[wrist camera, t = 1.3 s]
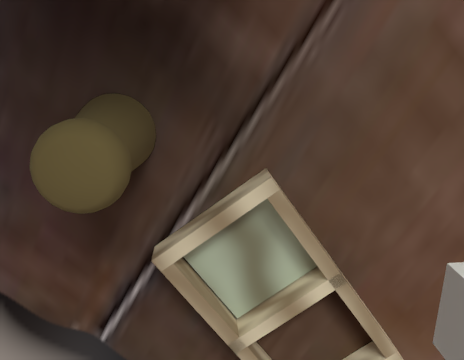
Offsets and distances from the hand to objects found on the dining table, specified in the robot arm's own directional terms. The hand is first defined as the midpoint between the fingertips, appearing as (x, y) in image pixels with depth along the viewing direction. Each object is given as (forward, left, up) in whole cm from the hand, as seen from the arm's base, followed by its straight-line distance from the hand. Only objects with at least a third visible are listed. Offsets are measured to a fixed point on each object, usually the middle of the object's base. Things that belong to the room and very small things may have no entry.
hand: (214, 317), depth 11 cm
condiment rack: (+15, -3, -22) cm, 26 cm away
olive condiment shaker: (-5, -5, -22) cm, 23 cm away
